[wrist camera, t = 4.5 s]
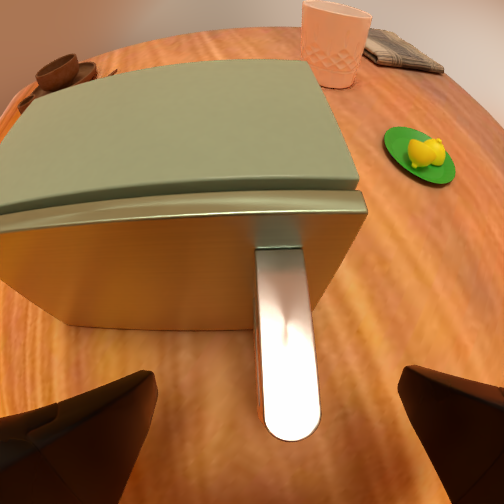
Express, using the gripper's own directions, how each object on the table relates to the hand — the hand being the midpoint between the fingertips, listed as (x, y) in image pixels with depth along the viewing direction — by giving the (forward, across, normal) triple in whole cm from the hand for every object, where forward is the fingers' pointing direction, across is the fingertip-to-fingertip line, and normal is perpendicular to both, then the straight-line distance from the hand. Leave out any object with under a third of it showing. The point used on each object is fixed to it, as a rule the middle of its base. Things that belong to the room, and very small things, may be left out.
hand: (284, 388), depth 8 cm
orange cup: (+29, +8, +19) cm, 36 cm away
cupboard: (+11, -6, +1) cm, 12 cm away
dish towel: (+42, +23, +32) cm, 58 cm away
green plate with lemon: (+18, +15, +9) cm, 25 cm away
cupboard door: (+5, -5, -4) cm, 8 cm away
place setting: (+28, -30, +18) cm, 45 cm away
